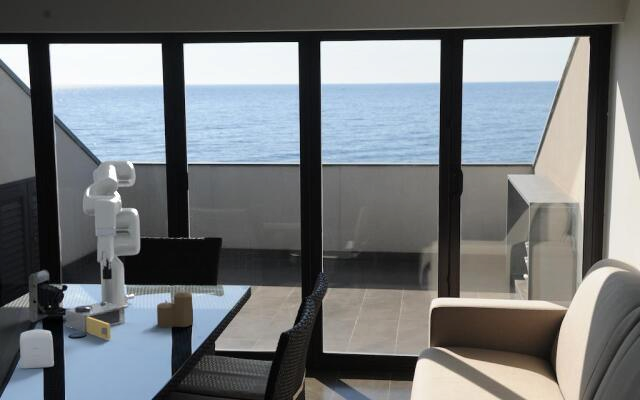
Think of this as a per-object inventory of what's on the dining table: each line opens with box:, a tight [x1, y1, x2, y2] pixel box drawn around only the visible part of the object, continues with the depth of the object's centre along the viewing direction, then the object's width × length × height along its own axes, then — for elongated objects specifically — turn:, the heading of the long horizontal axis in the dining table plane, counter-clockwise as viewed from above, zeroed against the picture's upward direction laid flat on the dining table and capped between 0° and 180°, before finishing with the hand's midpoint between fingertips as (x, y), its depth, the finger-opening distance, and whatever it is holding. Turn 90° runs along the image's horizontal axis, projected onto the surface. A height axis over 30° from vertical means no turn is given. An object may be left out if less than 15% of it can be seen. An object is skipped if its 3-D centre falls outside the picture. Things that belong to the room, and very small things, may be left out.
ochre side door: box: [84, 315, 111, 341], centre depth 294 cm, size 16×2×7 cm, turn 46°
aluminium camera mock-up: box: [65, 301, 126, 333], centre depth 311 cm, size 18×13×8 cm
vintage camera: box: [28, 269, 69, 323], centre depth 317 cm, size 10×15×20 cm, turn 78°
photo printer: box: [19, 329, 55, 370], centre depth 259 cm, size 10×4×12 cm, turn 100°
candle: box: [156, 286, 194, 329], centre depth 311 cm, size 14×14×15 cm
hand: (107, 278), depth 301 cm, fingers closed
